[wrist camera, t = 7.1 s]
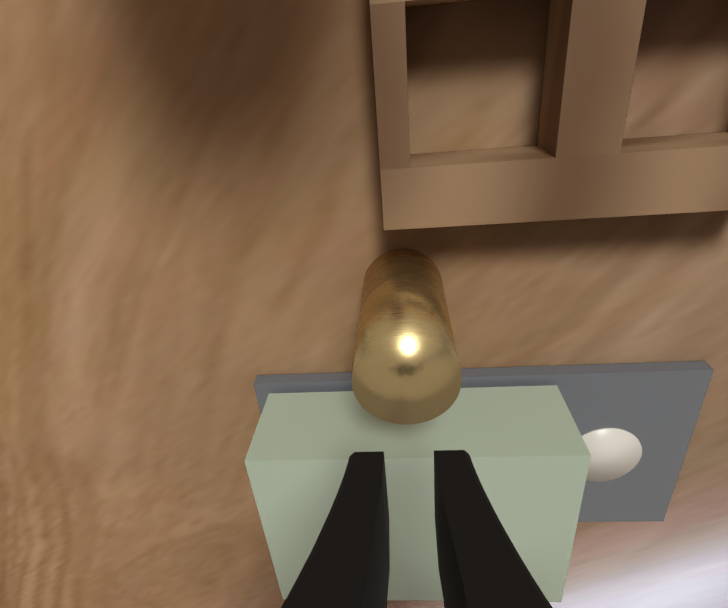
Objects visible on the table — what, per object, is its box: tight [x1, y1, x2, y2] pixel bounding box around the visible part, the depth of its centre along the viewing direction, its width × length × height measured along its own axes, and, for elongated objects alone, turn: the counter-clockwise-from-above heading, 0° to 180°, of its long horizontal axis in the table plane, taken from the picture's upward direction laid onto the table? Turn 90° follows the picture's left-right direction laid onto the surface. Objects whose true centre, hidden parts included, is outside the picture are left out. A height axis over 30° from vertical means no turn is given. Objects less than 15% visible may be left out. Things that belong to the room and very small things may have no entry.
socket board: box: [369, 0, 728, 230], centre depth 13 cm, size 12×8×2 cm, turn 95°
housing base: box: [254, 361, 714, 522], centre depth 20 cm, size 18×9×3 cm, turn 95°
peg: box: [352, 250, 462, 424], centre depth 15 cm, size 3×3×6 cm
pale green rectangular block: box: [245, 385, 591, 602], centre depth 20 cm, size 12×8×4 cm
